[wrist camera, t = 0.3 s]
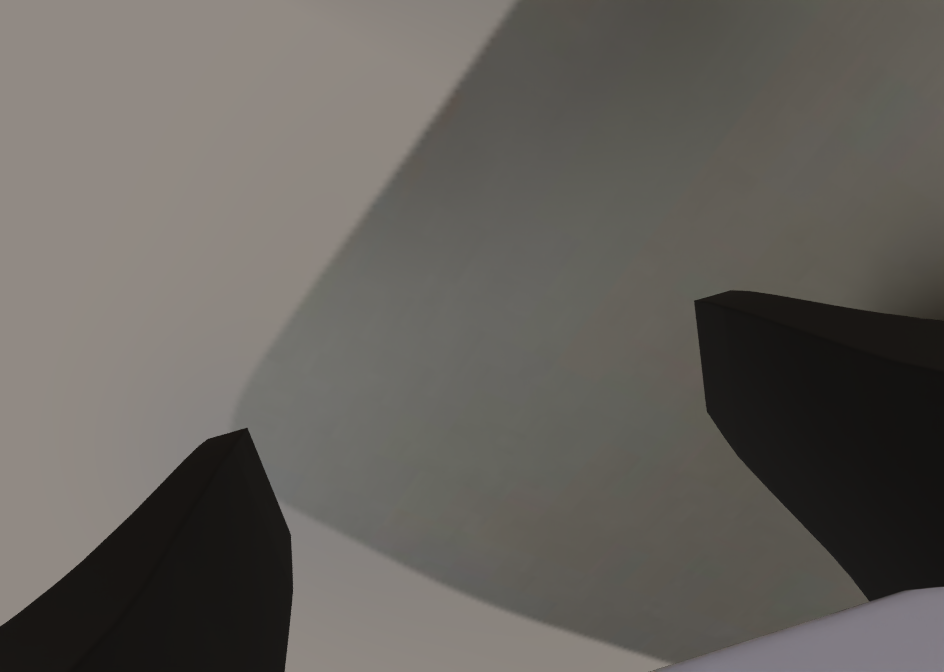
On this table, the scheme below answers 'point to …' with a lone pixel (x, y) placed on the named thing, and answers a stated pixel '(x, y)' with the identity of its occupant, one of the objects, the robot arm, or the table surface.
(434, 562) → the table surface
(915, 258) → the table surface
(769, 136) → the table surface
